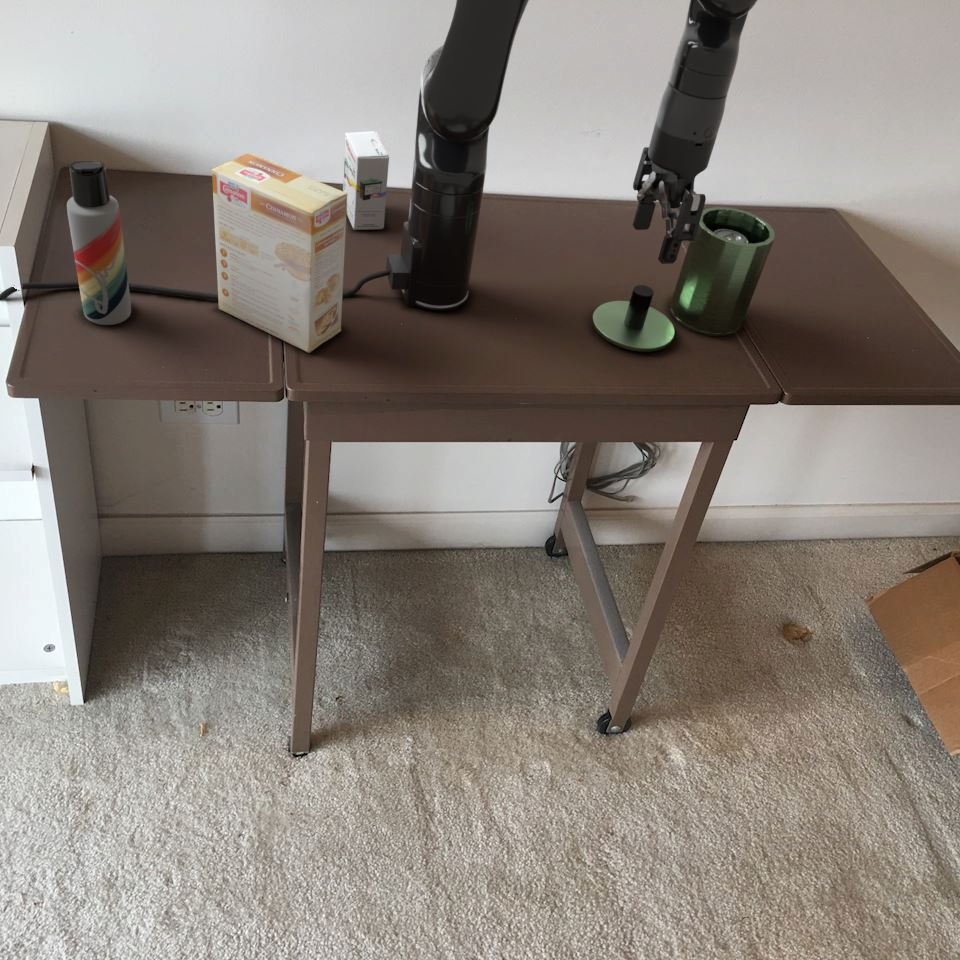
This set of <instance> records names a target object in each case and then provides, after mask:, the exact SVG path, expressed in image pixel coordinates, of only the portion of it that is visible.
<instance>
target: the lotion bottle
mask: <svg viewBox="0 0 960 960" xmlns="http://www.w3.org/2000/svg"><path fill="white" fill-rule="evenodd" d="M68 167H69V168H68V169H69V175H70V182H71V183H70V184H71V192H72V196H71V197H70V198H69V199H68V200H67V202H66V212H67V218H68V225H69V226H68V227H69V231H70V237H71V244H72V249H73V255H74V264H75V269H76V275H77V281H78V282H79V287H78V288H79V293H80V300H81V306H82V310H83V314H84V317H85V318H86V319H87V320H88V321H89V322H91V323H93V324H96V325H99V326H111V325H112V326H113V325H117V324H121V323H123V322H125V321H126V320H127V319H129V317H130V316H131V313H132V302H131V294H130V289H129V285H128V283H129V277H128V276H129V275H128V270H127V269H128V268H127V262H126V261H127V260H126V253H125V245H124V237H123V229H122V218H121V212H120V206H119V205H120V204H119V202H118V200H117V198H115V197H114V196H112V195H110V189H109V181H108V176H107V168H106V164H105V163H104V162H102V161H98V160H97V161H96V160H79V161H78V160H77V161H73V162H71V163H69V164H68Z"/></svg>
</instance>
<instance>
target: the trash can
mask: <svg viewBox="0 0 960 960" xmlns="http://www.w3.org/2000/svg"><path fill="white" fill-rule="evenodd" d="M718 229H728V230H733V231H736V232H738V233H740V234H742V235H743V236H745V237H746V238H747V240H748V243H739V242H735V241H731V240H727V239H725V238H723V237H720V236H718V235H716V234H715V233H713V232H714V231H716V230H718ZM775 233H776V231H775V230H774V229H773V227H772V226H771V224H769V223H768V222H766V221H765V220H764V219H763V218H761V217H759V216H757V215H756V214H753V213H751V212H749V211H746V210H743V209H738V208H734V207H727V206H712V207H708V208H705V209H703V212H702V215H701V219H700V223H699V226H698V230H697V233H696V237H695V240H694V241H689V243H688V246H687V248H686V253H685V256H684V259H683V262H682V266H681V268H680V271H679V275H678V277H677V280H676V283H675V287H674V290H673V294H672V297H671V300H670V304H669V313H670V315H671V316H672V318H673V319H674V320H675V321H676V322H677V323H678V324H680V325H681V326H682V327H684V328H685V329H688V330H689V331H691V332H694V333H697V334H700V335H704V336H710V337H726V336H730V335H731V336H732V335H733V334H736V332H738V331H739V330H740V328H741V327H742V325H743V323H744V320H745V317H746V315H747V312H748V309H749V307H750V304H751V302H752V299H753V297H754V293H755V292H756V289H757V286H758V283H759V281H760V278H761V275H762V273H763V270H764V268H765V265H766V262H767V260H768V257H769V254H770V252H771V249H772V247H773V244H774V241H775Z"/></svg>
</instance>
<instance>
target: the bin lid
mask: <svg viewBox="0 0 960 960" xmlns="http://www.w3.org/2000/svg"><path fill="white" fill-rule="evenodd" d="M653 297H654V290H653V288H651V287H649V286H647V285H645V284H644V285H643V284H638V285H634V287H633V288H632V292H631V296H630V299H629V300H613V301H608V302H605V303H602V304H601V305H599V306H597V308H596V309H595V310H594V312H593V314H592V318H591V323H592V326H593V329H594V330H595V331H596V333H597V334H598V335H599V336H600V337H601V338H603V339H604V340H605V341H607V342H608V343H610V344H612V345H614V346H616V347H620V348H623V349H624V350H625V349H626V350H630V351H633V352H643V353H645V352H648V353H649V352H657V351H660V350H663V349H665V348H667V347H668V346H670V344H672V342H673V341H674V338H675V327H674V325H673V323H672V321H671V320H670V319H669V318H668V317H667V316H666V315H665V314H663V312H660V311H659V310H657V309H655V308H654V307H651V303H652V300H653Z"/></svg>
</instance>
